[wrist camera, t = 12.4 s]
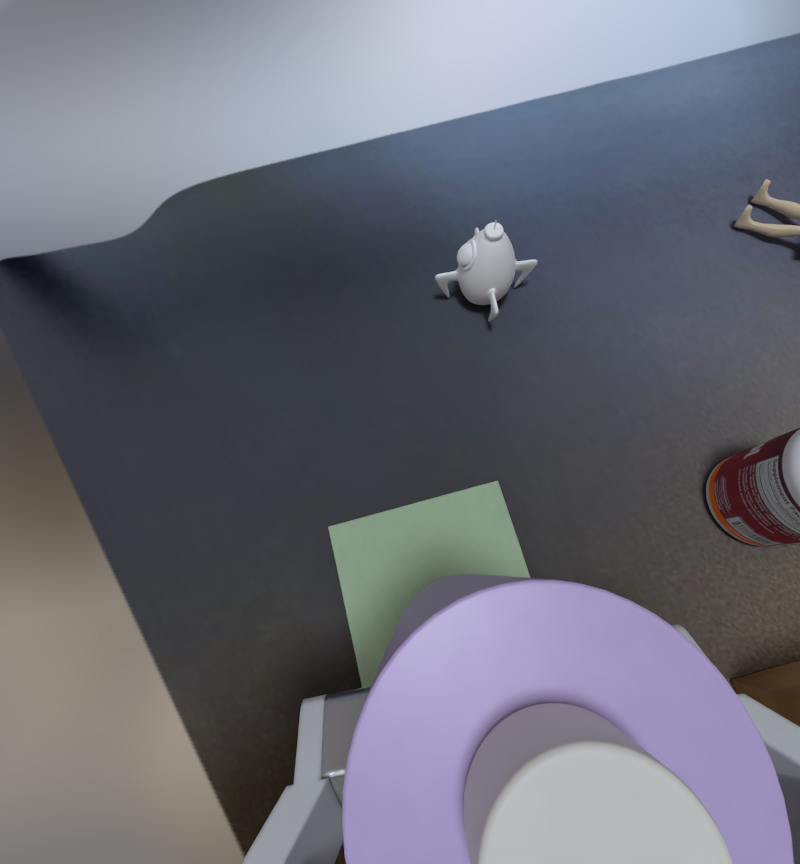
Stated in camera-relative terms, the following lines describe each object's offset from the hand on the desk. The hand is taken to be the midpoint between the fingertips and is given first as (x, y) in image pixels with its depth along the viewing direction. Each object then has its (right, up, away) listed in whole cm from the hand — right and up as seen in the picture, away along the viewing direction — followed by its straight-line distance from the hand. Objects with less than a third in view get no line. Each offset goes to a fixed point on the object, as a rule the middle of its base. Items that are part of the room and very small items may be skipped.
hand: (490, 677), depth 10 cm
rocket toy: (+4, +16, +27) cm, 32 cm away
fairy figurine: (+31, +20, +26) cm, 45 cm away
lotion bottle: (0, -2, +5) cm, 5 cm away
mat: (+1, -7, +19) cm, 20 cm away
